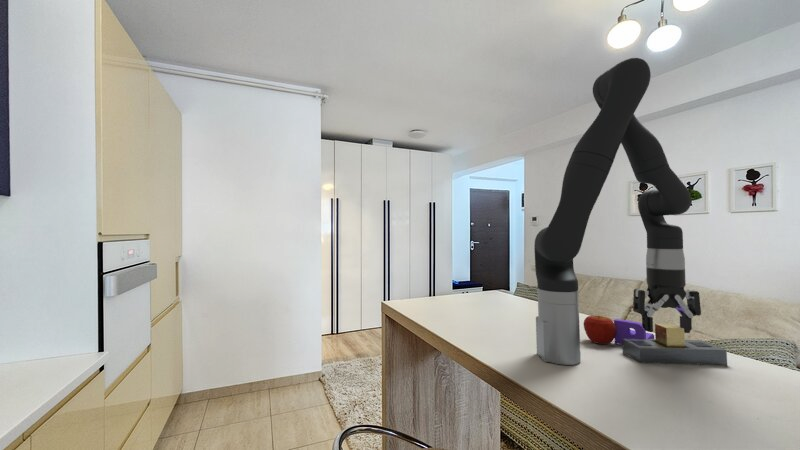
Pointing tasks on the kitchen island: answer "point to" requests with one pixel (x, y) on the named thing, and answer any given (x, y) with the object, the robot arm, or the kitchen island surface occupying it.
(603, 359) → the kitchen island surface
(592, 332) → the apple
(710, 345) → the grey base plate
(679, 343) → the tan block
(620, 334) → the bracket
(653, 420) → the kitchen island surface
